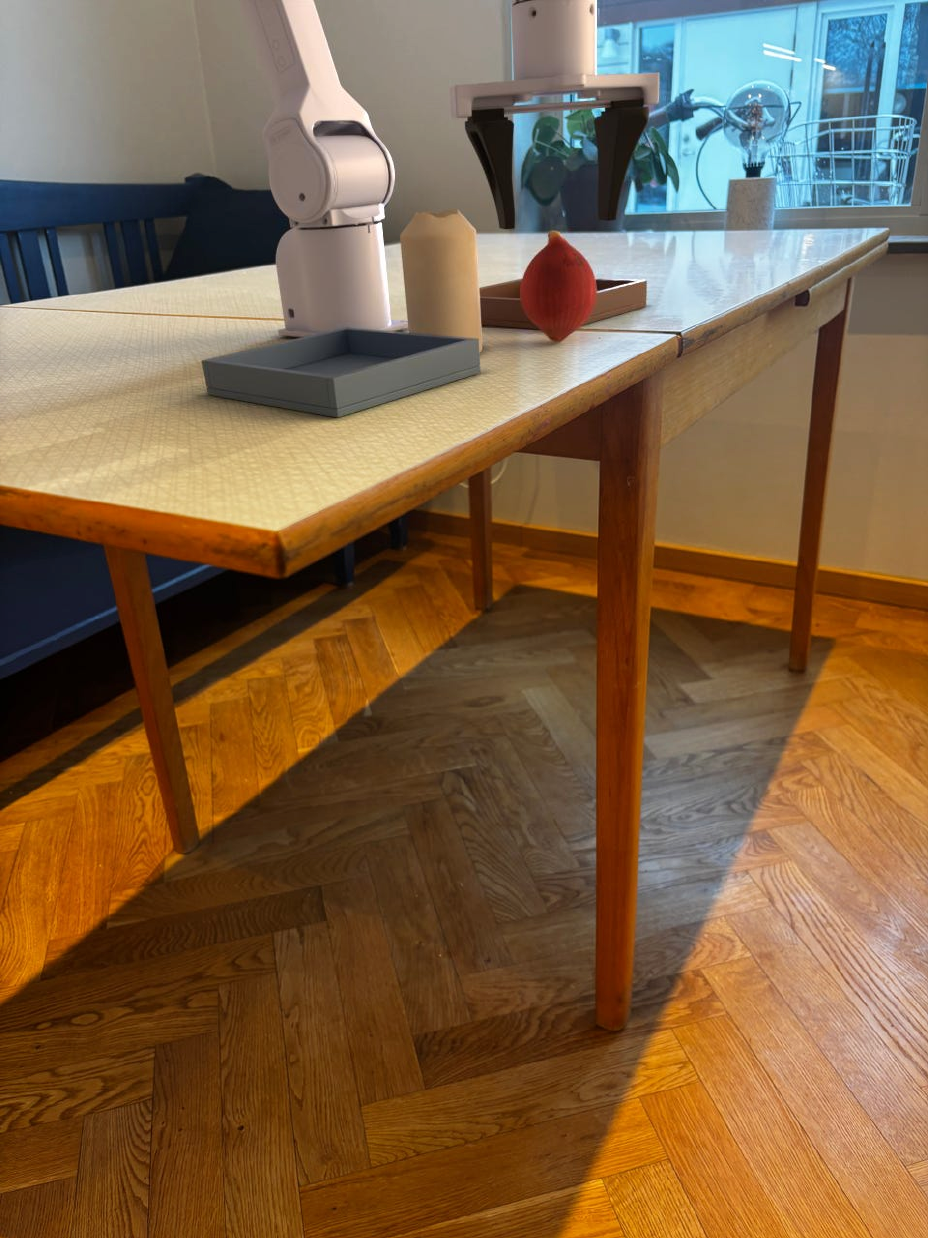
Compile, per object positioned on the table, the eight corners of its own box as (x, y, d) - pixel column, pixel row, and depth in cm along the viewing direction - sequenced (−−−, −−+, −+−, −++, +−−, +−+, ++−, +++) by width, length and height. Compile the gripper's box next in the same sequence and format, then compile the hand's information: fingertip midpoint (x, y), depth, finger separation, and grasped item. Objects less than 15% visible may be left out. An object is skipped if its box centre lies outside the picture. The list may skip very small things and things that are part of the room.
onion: (595, 333, 73) (595, 225, 70) (597, 346, 68) (598, 230, 65) (523, 336, 74) (519, 229, 70) (519, 350, 69) (516, 235, 65)
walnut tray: (443, 322, 83) (441, 295, 82) (531, 300, 92) (530, 276, 91) (562, 331, 75) (562, 301, 74) (646, 306, 84) (647, 279, 83)
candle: (429, 363, 66) (417, 214, 62) (399, 353, 71) (385, 212, 66) (495, 352, 69) (488, 207, 64) (462, 342, 73) (453, 206, 69)
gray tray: (207, 394, 62) (200, 360, 61) (350, 357, 71) (346, 326, 70) (337, 417, 54) (333, 378, 53) (481, 372, 63) (479, 338, 62)
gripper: (458, -2, 57) (472, 235, 63) (679, -13, 59) (672, 218, 65) (439, 15, 63) (453, 229, 69) (640, 5, 65) (636, 214, 71)
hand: (557, 224), depth 67 cm, fingers open, 7 cm apart
